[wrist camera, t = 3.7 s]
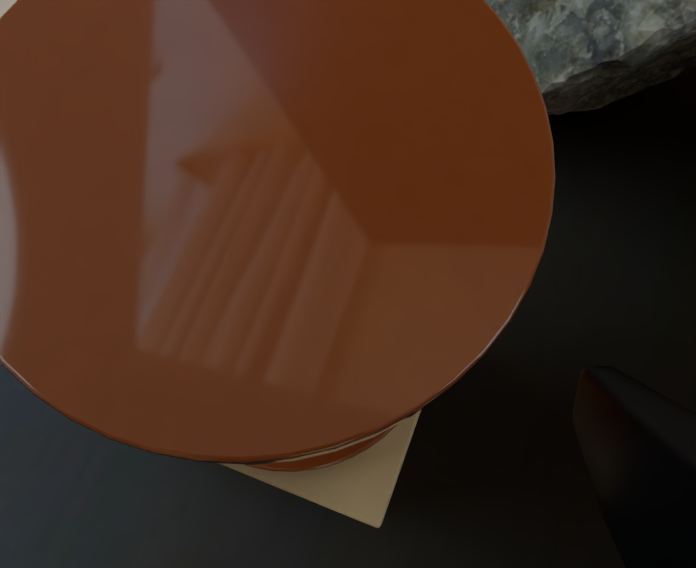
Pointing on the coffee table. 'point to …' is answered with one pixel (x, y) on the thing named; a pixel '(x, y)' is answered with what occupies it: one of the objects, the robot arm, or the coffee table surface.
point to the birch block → (349, 478)
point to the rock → (600, 46)
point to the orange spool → (262, 215)
